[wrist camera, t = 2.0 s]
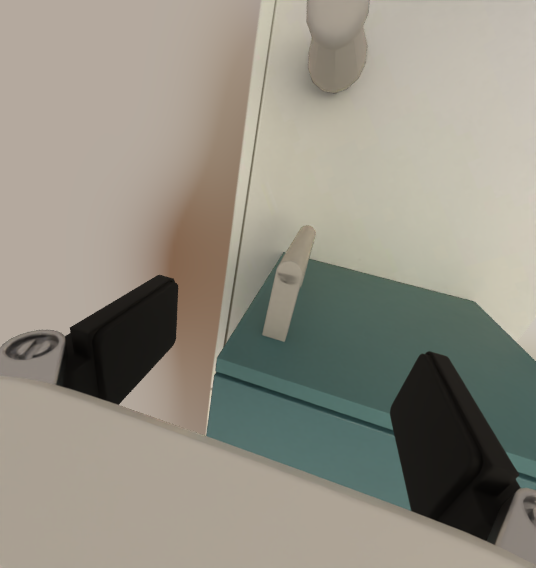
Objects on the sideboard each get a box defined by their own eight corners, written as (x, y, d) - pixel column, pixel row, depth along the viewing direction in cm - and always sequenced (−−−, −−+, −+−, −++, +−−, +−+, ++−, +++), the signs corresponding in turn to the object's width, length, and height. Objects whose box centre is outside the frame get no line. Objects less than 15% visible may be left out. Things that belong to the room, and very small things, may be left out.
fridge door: (293, 207, 36) (228, 268, 14) (502, 257, 32) (826, 433, 11) (281, 259, 39) (214, 371, 18) (470, 309, 36) (671, 523, 14)
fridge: (281, 260, 39) (213, 375, 18) (468, 310, 36) (670, 528, 14) (260, 353, 47) (195, 512, 26) (412, 401, 44) (487, 632, 22)
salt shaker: (345, 107, 30) (351, 69, 19) (301, 84, 30) (279, 34, 19) (376, 45, 28) (404, -43, 16) (327, 21, 28) (320, -83, 16)
